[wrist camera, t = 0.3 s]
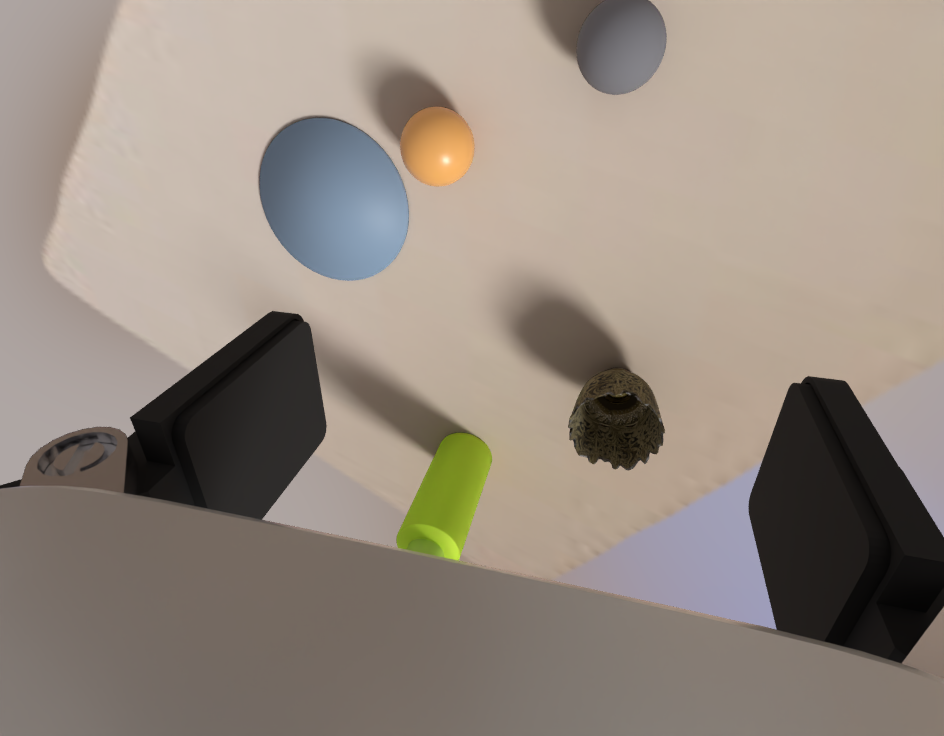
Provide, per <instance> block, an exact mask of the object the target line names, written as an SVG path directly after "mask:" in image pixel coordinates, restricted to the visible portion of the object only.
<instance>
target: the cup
mask: <svg viewBox="0 0 944 736" xmlns="http://www.w3.org/2000/svg"><path fill="white" fill-rule="evenodd" d="M568 427H569V428H570V433H569V434H570V440H573V441H574V447H575V449H576V451H577V453H578V455H579V456H583V457H587V458H588V460H589V462H590V463H592V464H595V463H596V462H597V461H598V459H602V460H603V461H604V462H610V463H611V464H612V468H613V469H618V468H619V466H622V467H623V468H624V469H625V470H631V469H633V468H634V467H635V466H636V464H637V463H638V461H640V460H641V461H642V462H643V463H644V464H646V463H647V461H648V459H649V454H650V452H651V453H652V454H657V453H658V450H659V447H660V446H662V445H663V433H665V429H664V426H663V423H662V419H661V415H660V412H659V408H658V405H657V402H656V399H655V396H654V394H653V392H652V390H651V388H650V387H649V385H648V384H647V383H646V382H645V381H644V380H643V379H642V378H640V377H639V376H637V375H636V374H634V373H631V372H629V371H628V370H626V369H622V368H612V369H609V370H607V371H604V372H601V373H599V374H597V375H595V376H594V377H593V378H591V379H590V380H589V381H588V382H587V383H586V385H585V386H584V387H583V389H582V391H581V392H580V394H579V397H578V399H577V401H576V404H575V407H574V409H573V412H572V415H571V416H570V420H569V425H568Z"/></svg>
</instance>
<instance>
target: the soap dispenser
mask: <svg viewBox="0 0 944 736" xmlns="http://www.w3.org/2000/svg"><path fill="white" fill-rule="evenodd" d="M491 462H492V455H491V452H490V450H489V448H488V446H487V445H486V444H485V443H484V442H483V441H482V440H481V439H479V438H477V437H476V436H473V435H471V434H467V433H454V434H450V435H448V436H447V437H445V438H444V439H443V440H442V442H441V443H440V446H439V448H438V450H437V452H436V454H435V456H434V458H433V460H432V462H431V465H430V467H429V469H428V471H427V473H426V475H425V477H424V479H423V481H422V484H421V486H420V488H419V490H418V492H417V494H416V496H415V498H414V500H413V503H412V505H411V507H410V509H409V511H408V513H407V515H406V517H405V520H404V522H403V524H402V526H401V528H400V530H399V532H398V535H397V546H398V548H401V549H406V550H411V551H415V552H420V553H425V554H430V555H434V556H439V557H444V558H449V559H453V560H458V561H459V558H460V555H461V552H462V549H463V546H464V543H465V540H466V537H467V534H468V531H469V528H470V525H471V522H472V519H473V516H474V513H475V510H476V507H477V504H478V501H479V498H480V496H481V493H482V490H483V487H484V484H485V481H486V478H487V475H488V472H489V469H490V466H491Z"/></svg>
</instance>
